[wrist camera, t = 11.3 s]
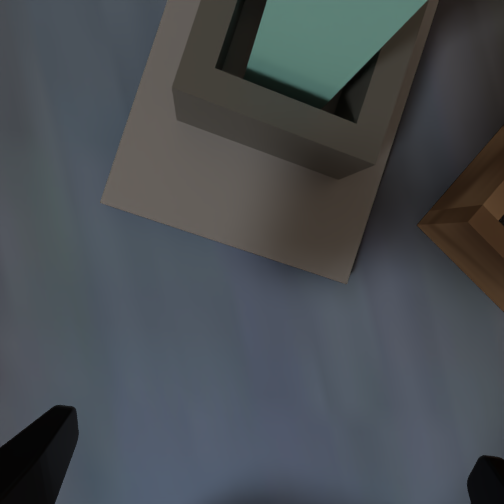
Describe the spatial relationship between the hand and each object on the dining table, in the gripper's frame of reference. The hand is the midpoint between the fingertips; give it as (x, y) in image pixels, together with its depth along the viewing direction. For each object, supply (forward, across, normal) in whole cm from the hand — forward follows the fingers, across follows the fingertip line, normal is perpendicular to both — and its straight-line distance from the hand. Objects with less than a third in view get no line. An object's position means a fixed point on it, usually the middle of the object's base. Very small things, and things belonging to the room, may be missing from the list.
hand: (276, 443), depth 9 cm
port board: (+16, 0, -7) cm, 17 cm away
